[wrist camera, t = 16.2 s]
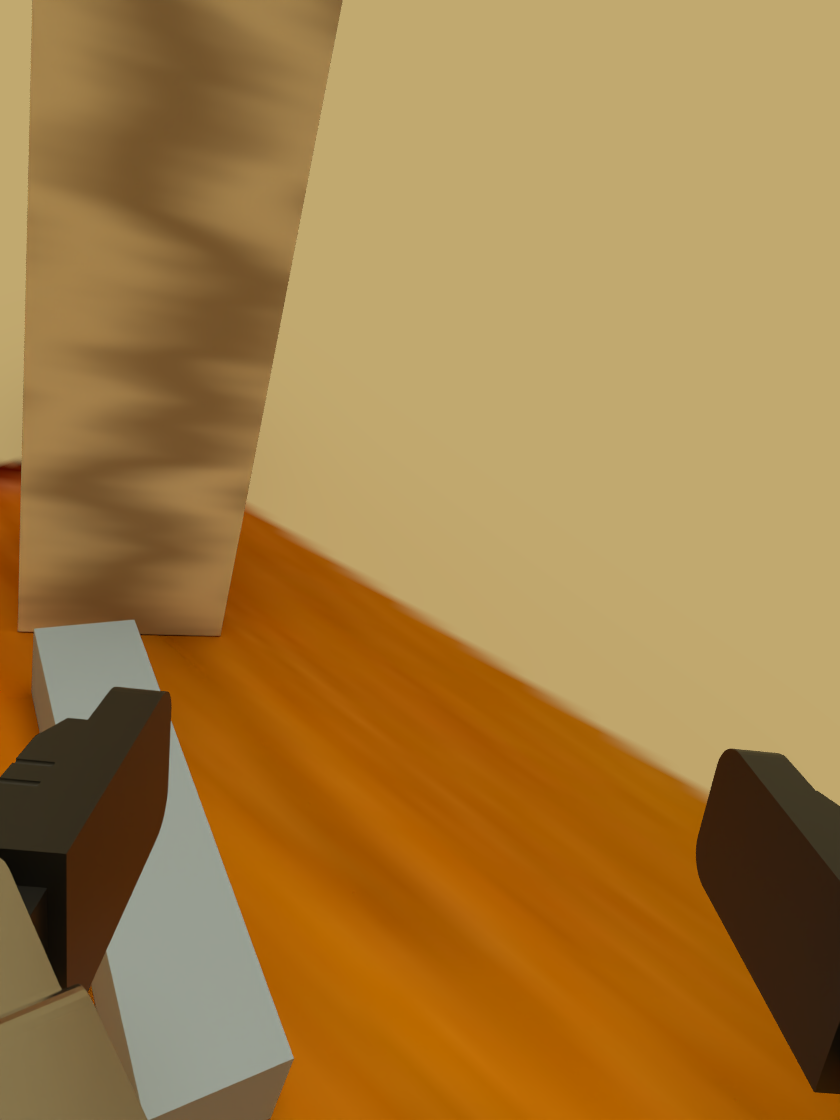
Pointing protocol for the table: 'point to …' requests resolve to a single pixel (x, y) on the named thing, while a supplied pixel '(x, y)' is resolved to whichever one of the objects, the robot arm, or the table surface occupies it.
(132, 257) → the tall patterned tan block
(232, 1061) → the bar
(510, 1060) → the table surface
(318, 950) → the table surface
